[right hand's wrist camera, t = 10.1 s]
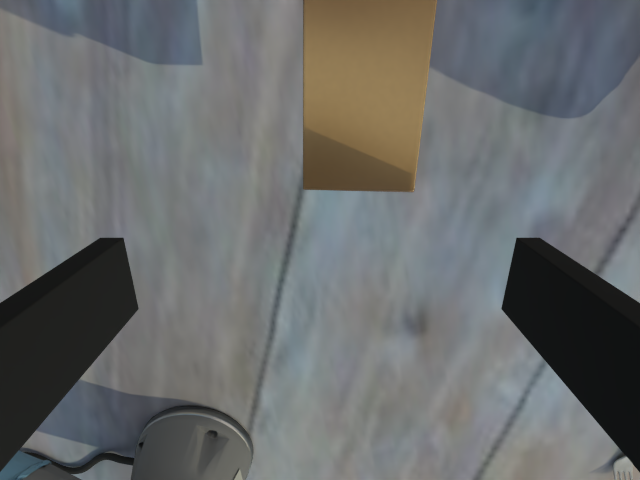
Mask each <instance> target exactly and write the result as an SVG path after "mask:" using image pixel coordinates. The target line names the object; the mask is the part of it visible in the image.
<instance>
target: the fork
mask: <svg viewBox="0 0 640 480" xmlns="http://www.w3.org/2000/svg"><path fill="white" fill-rule="evenodd" d="M632 470H633V464H632V462H631V461H630V460H629V459H628V458H627V456H623V457H621V458H619V459H617V460H616V461H615V462H614V464H613V472H614V480H617V472H618V473H619V478H620V480H622V472H624V476H625V480H627V472H629V475H630V480H633V477H632Z"/></svg>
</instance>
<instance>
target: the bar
mask: <svg viewBox="0 0 640 480" xmlns="http://www.w3.org/2000/svg"><path fill="white" fill-rule="evenodd" d="M436 5H437V0H303V189H304V190H341V191H384V192H414V188H415V180H416V172H417V163H418V155H419V147H420V138H421V130H422V122H423V113H424V105H425V97H426V88H427V80H428V72H429V63H430V55H431V47H432V38H433V30H434V22H435V13H436Z"/></svg>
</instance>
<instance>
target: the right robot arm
mask: <svg viewBox="0 0 640 480" xmlns="http://www.w3.org/2000/svg"><path fill="white" fill-rule="evenodd" d="M137 310H138V304H137V299H136V295H135V290H134V285H133V281H132V276H131V271H130V267H129V262H128V257H127V253H126V248H125V243H124V239H123V238H99V239H98V240H96V241H95V242H93V243H92V244H90V245H89V246H87V247H86V248H84V249H83V250H81V251H79V252H78V253H76V254H75V255H73V256H72V257H70V258H69V259H67V260H66V261H64V262H63V263H61V264H60V265H58V266H57V267H55V268H53V269H52V270H50V271H49V272H47V273H46V274H44V275H43V276H41V277H40V278H38V279H37V280H35V281H34V282H32V283H30V284H29V285H27V286H26V287H24V288H23V289H21V290H20V291H18V292H17V293H15V294H14V295H12V296H11V297H9V298H7V299H6V300H4V301H3V302H1V303H0V480H81V479H79V478H77V477H75V476H73V475H71V474H79V473H83V472H85V471H87V470H88V469H90V468H91V467H92V466H94V465H95V464H96V463H98V462H100V461H102V460H112V461H115V462H118V463H122V464H128V465H133V469H132V475H131V480H245V479H246V478H247V475H248V473H249V470H250V467H251V463H252V458H253V445H252V441H251V439H250V437H249V435H248V433H247V432H246V431H245V429H244V428H243V427H242V426H241V425H240V424H239V423H237V422H236V421H235V420H233V419H232V418H230V417H229V416H227V415H225V414H223V413H221V412H218V411H215V410H212V409H208V408H203V407H195V406H183V407H176V408H171V409H168V410H165V411H163V412H161V413H159V414H157V415H156V416H154V417H153V418H152V419H151V420H150V421H149V422H148V423H147V425H146V426H145V428H144V430H143V432H142V434H141V436H140V438H139V441H138V443H137V447H136V451H135V458H130V457H125V456H121V455H117V454H114V453H104V454H100V455H98V456H96V457H95V458H93V459H92V460H91V461H90V462H88V463H87V464H85V465H84V466H81V467H76V468H72V467H66V466H63V465H60V464H58V463H56V462H54V461H52V460H50V459H48V458H46V457H43V456H41V455H38V454H35V453H29V452H21V451H19V449H20V448H21V447H22V446H23V445H24V443H25V442H26V441H27V440H28V439H29V438H30V436H31V435H32V434H33V433H34V432H35V431H36V429H37V428H38V427H39V426H40V425H41V423H42V422H43V421H44V420H45V419H46V418H47V416H48V415H49V414H50V413H51V412H52V410H53V409H54V408H55V407H56V406H57V405H58V403H59V402H60V401H61V400H62V399H63V397H64V396H65V395H66V394H67V393H68V392H69V390H70V389H71V388H72V387H73V386H74V384H75V383H76V382H77V381H78V380H79V379H80V377H81V376H82V375H83V374H84V373H85V371H86V370H87V369H88V368H89V367H90V366H91V364H92V363H93V362H94V361H95V360H96V358H97V357H98V356H99V355H100V354H101V353H102V351H103V350H104V349H105V348H106V347H107V345H108V344H109V343H110V342H111V341H112V340H113V338H114V337H115V336H116V335H117V334H118V333H119V331H120V330H121V329H122V328H123V327H124V325H125V324H126V323H127V322H128V321H129V320H130V318H131V317H132V316H133V315H134V314H135V312H136V311H137ZM502 310H503V311H504V312H505V314H506V315H507V316H508V317H509V318H510V320H511V321H512V322H513V323H514V324H515V325H516V327H517V328H518V329H519V330H520V331H521V333H522V334H523V335H524V336H525V337H526V338H527V340H528V341H529V342H530V343H531V344H532V345H533V347H534V348H535V349H536V350H537V351H538V353H539V354H540V355H541V356H542V357H543V358H544V360H545V361H546V362H547V363H548V364H549V366H550V367H551V368H552V369H553V370H554V371H555V373H556V374H557V375H558V376H559V377H560V379H561V380H562V381H563V382H564V383H565V384H566V386H567V387H568V388H569V389H570V390H571V392H572V393H573V394H574V395H575V396H576V397H577V399H578V400H579V401H580V402H581V403H582V405H583V406H584V407H585V408H586V409H587V410H588V412H589V413H590V414H591V415H592V416H593V418H594V419H595V420H596V421H597V422H598V423H599V425H600V426H601V427H602V428H603V429H604V431H605V432H606V433H607V434H608V435H609V436H610V438H611V439H612V440H613V441H614V442H615V443H616V445H617V446H618V447H619V448H620V449H621V451H622V452H623V453H624V454H625V455H626V456H627V458H628V459H629V460H630V461H631V462H632V464H633V465H634V466H635V467H636V468H637V469H638V471H639V472H640V303H639V302H637V301H636V300H634V299H633V298H631V297H629V296H628V295H626V294H625V293H623V292H622V291H620V290H619V289H617V288H616V287H614V286H613V285H611V284H610V283H608V282H606V281H605V280H603V279H602V278H600V277H599V276H597V275H596V274H594V273H593V272H591V271H590V270H588V269H587V268H585V267H583V266H582V265H580V264H579V263H577V262H576V261H574V260H573V259H571V258H570V257H568V256H567V255H565V254H564V253H562V252H560V251H559V250H557V249H556V248H554V247H553V246H551V245H550V244H548V243H547V242H545V241H544V240H542V239H541V238H517V239H516V243H515V248H514V253H513V257H512V262H511V267H510V271H509V276H508V281H507V285H506V290H505V295H504V299H503V304H502Z"/></svg>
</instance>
